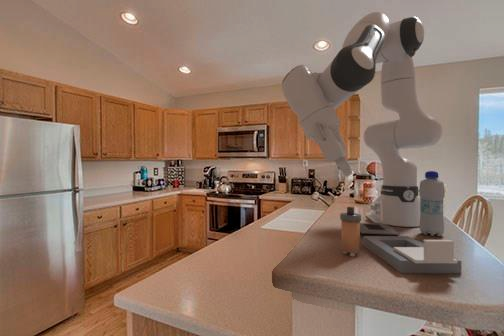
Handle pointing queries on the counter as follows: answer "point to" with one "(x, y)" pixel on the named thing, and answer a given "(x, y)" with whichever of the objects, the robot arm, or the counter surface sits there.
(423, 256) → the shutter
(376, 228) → the electrical outlet
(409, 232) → the counter surface
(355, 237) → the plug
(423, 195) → the bottle
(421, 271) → the socket block
